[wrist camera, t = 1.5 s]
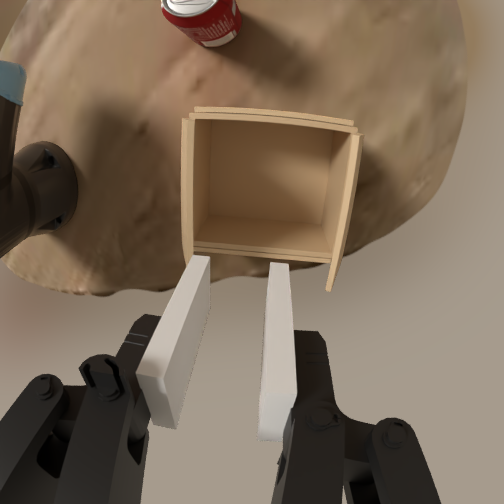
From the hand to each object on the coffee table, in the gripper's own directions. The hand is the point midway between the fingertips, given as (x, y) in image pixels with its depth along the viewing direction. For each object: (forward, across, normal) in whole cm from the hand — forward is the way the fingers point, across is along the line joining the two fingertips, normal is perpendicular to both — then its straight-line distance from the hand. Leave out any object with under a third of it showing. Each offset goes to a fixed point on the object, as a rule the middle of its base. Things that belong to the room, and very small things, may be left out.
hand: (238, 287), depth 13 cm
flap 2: (+14, +8, 0) cm, 16 cm away
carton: (+27, +1, 0) cm, 27 cm away
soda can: (+27, -7, +19) cm, 34 cm away
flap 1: (+14, -6, 0) cm, 15 cm away
